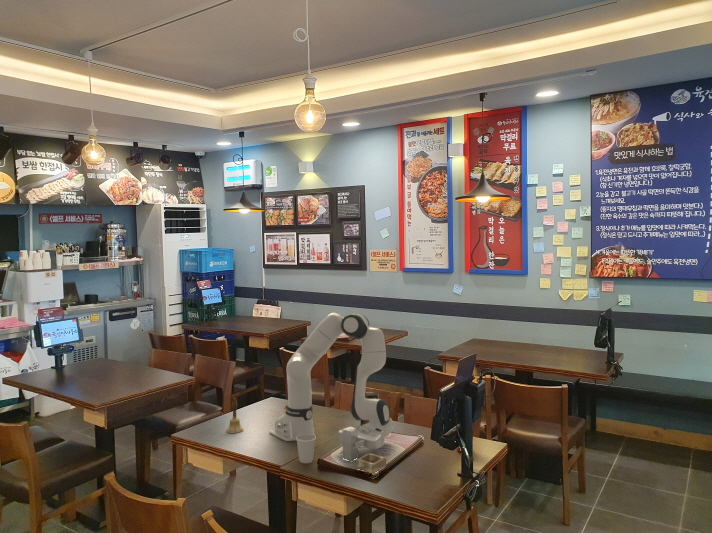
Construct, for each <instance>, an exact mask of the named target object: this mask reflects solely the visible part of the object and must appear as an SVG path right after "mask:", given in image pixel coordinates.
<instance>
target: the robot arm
mask: <svg viewBox="0 0 712 533" xmlns="http://www.w3.org/2000/svg"><path fill="white" fill-rule="evenodd" d="M343 334H344V335H346V336H347V337H350V338H354V339H356V340H360V343H361V358H360V361H359V363H358V364H357V365H356V369H355V374H354V382H353V391H352V394H353V395H352V400H351V404H350V413H351V416H352V417H353V418H354V420H356V421H361V420H369V422H368V423H367V424H364V425H362V426H361V425H360V427H358V428H357V429H358V442H354V443H353V447H358V448H359V447H364V448H367V449H371V450H378V449H379V448H382V447H383V446H384V445H385V438H386V437H387V436H389V435H390V434H391V433H392V431H393V429H394V421H393V420H392V418H391V411H390V410H391V409H390V407H389V406H390V405H388V402H387V401H386V400H384V399H383V398H379V399H366V398H365V392H366V387H367V380H368V378H369V377H370V375H372V374H374V373H376V372H379V371H380V370H382V368H383V367H385V365H386V361H387V350H386V348H387V347H386V340H385V335H384V332H383V330H382V329H381V328H379V327H371V326H370V322H369V319H368V318H367V316H365V315H363V314H361V313H358V312H356V313H355V312H353V313H348V314H346V315H345V316H342V315H341V314H339V313H338V312H337V313H336V312H331V313H329V314H327V316H325V317H324V318H323V319H322V320H321V321H320V322H319V323H318V324H317V325H316V327H315V328H314V329H313V330H312V332H311V333H310V334H309V335H308V337H307V338H306V339H305V340H304V341H303V342H302V343H301V345H300V346H299V347H298V348H297V349H296V351H295V352H294V353H293V354H292V355H291V357H290V358H289V360H288V362H287V364H286V380H287V381H286V382H287V399H288V400H287V405H285V407H283V410H285V411H284V413H283V414H282V415H280V416H279V417H278V418H277V419H276V420H275V422H274V427H273V428H271V429H270V430H269V434H270V435H272V436H274V437H276V438H279V439H281V440H283V441H285V442H291V441H292V442H293V441H297V439H296V437H297V436H298V435H300V434H313V435H315V436H316V434H315V429H314V423H313V422H314V421H313V404H312V403H313V402H312V401H313V400H312V397H313V396H312V395H313V394H312V381H311V378H312V377H311V371H312V369H313V367H314V366H315V365H316V364H317V363H318V362H319V360H320V359H321V358H322V357H323V356H324V355H325V354H326V353H327V352H328V350H329V349H330V348H331V347H332V345H333V344H334V343H335V342H336V340H338V339H339V337H340V336H341V335H343ZM343 429H344V428H341V429H340V430H339V431H338V432H337V438H338V440H340V441H341V444H343Z"/></svg>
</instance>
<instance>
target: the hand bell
mask: <svg viewBox="0 0 712 533" xmlns="http://www.w3.org/2000/svg"><path fill="white" fill-rule="evenodd" d="M231 409H232V418H231V419H229V425H228V427H227V428H226V429H225V430H226V431H225V432H226V433H228V434H238V433H241V432H243V431H244V427H243V426H242V425H241V423H240V421H241V420H240V418H238V417H237V409H238V400H237V397H233V398H232V402H231Z"/></svg>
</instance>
